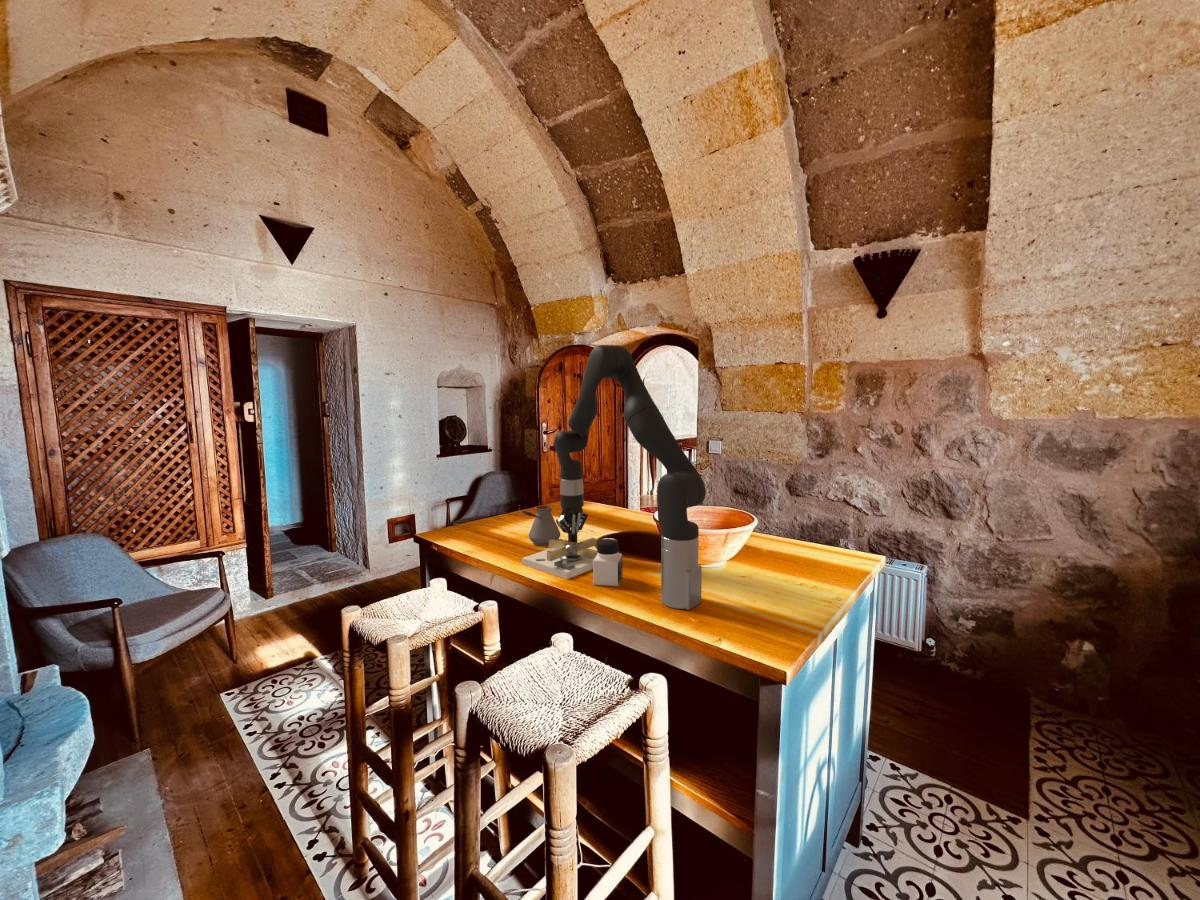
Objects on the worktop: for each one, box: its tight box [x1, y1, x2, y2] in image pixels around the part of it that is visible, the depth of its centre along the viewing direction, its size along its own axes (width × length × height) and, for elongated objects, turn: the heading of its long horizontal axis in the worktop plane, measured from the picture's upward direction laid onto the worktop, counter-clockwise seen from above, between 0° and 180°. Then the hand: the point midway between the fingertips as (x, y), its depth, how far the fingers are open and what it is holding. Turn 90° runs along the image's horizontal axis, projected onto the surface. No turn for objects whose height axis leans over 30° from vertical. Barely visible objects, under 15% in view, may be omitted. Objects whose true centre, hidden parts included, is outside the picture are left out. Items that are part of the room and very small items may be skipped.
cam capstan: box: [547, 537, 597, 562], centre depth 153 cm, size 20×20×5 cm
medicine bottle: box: [592, 537, 623, 587], centre depth 139 cm, size 7×7×12 cm
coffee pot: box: [518, 505, 561, 546], centre depth 172 cm, size 21×12×15 cm, turn 159°
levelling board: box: [521, 547, 594, 580], centre depth 155 cm, size 20×19×4 cm
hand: (572, 544), depth 161 cm, fingers closed
